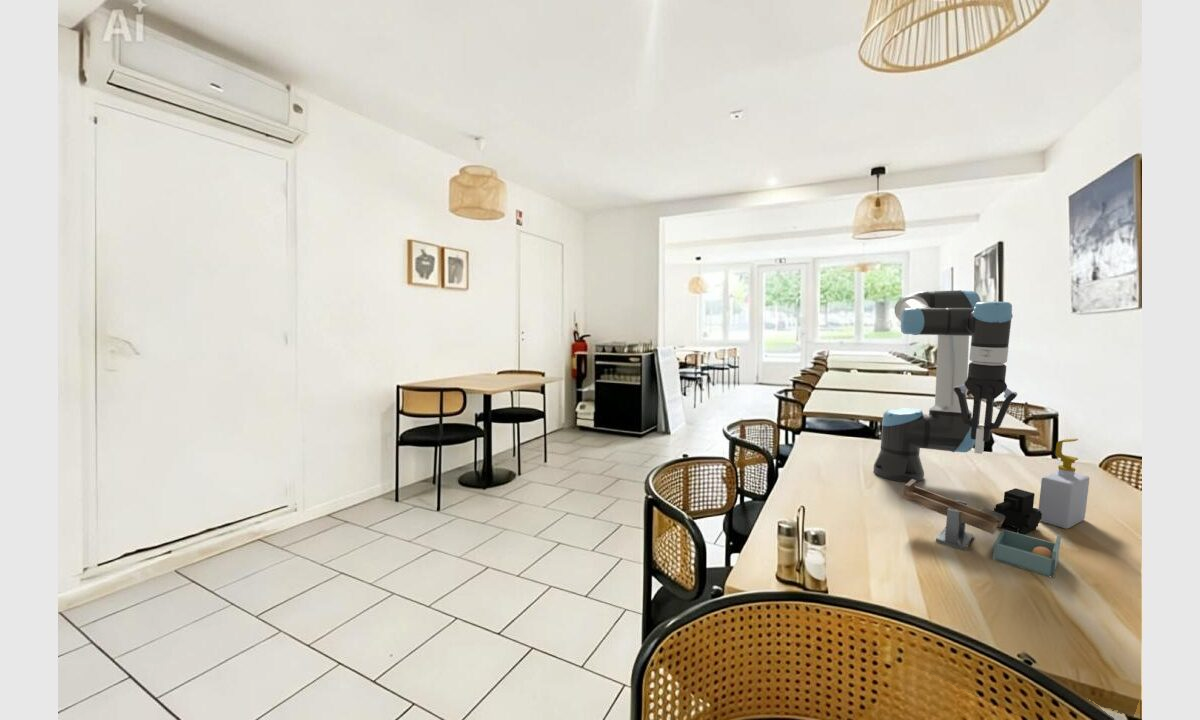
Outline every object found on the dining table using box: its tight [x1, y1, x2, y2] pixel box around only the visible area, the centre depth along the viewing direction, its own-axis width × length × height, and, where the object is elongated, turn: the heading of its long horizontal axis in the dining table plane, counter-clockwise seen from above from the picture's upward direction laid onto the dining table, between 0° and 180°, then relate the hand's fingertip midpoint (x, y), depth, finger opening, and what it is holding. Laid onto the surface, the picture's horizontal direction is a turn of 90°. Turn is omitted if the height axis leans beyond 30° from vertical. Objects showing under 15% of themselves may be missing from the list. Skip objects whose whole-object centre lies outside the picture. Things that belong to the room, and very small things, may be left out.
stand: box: [935, 499, 975, 552], centre depth 125 cm, size 6×10×9 cm, turn 133°
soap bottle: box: [1038, 438, 1090, 529], centre depth 134 cm, size 12×7×23 cm, turn 119°
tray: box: [992, 528, 1062, 578], centre depth 115 cm, size 11×11×6 cm
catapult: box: [900, 479, 1005, 535], centre depth 127 cm, size 20×12×4 cm, turn 44°
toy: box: [993, 488, 1042, 535], centre depth 130 cm, size 8×14×10 cm, turn 117°
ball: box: [1032, 547, 1052, 559], centre depth 113 cm, size 4×4×4 cm
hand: (978, 452), depth 127 cm, fingers closed
